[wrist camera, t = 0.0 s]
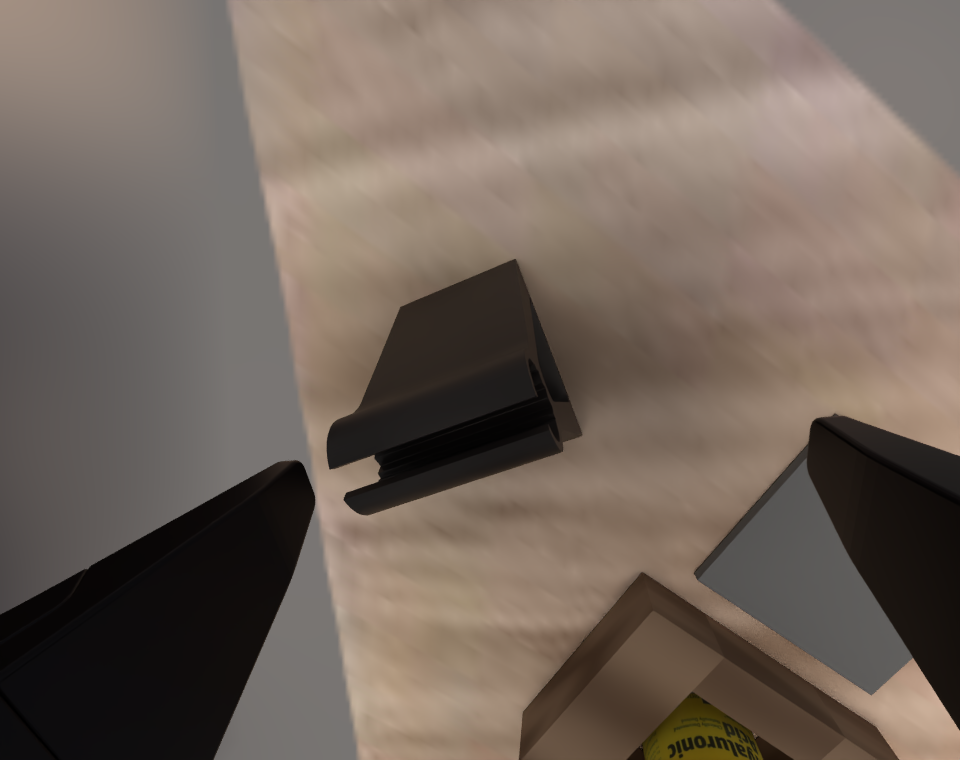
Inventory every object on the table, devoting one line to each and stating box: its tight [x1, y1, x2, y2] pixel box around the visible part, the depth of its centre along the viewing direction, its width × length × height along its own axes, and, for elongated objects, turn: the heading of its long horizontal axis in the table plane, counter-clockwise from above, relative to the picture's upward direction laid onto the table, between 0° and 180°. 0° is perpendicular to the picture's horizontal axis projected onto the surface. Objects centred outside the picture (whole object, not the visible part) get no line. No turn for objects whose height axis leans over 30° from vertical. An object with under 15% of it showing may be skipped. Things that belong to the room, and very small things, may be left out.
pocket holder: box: [519, 572, 899, 760], centre depth 25 cm, size 11×14×3 cm
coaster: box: [694, 414, 913, 695], centre depth 23 cm, size 10×10×1 cm
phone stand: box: [327, 259, 582, 515], centre depth 19 cm, size 9×6×12 cm, turn 21°
